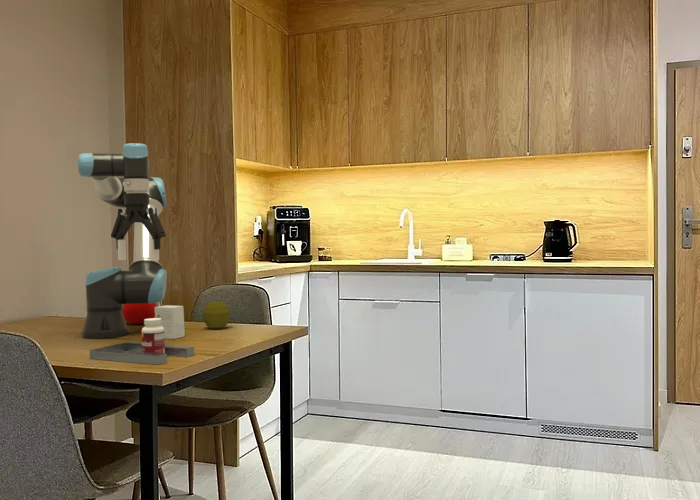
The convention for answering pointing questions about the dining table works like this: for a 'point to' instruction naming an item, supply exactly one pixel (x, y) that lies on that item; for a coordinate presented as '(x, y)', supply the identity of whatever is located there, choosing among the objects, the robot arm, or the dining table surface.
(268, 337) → the dining table surface
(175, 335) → the small box
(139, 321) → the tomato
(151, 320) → the pill bottle
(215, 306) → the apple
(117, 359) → the grey u-shaped frame
